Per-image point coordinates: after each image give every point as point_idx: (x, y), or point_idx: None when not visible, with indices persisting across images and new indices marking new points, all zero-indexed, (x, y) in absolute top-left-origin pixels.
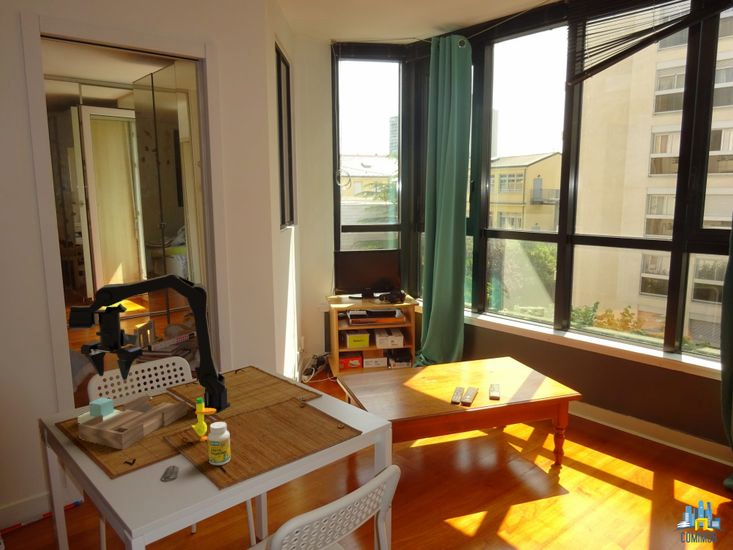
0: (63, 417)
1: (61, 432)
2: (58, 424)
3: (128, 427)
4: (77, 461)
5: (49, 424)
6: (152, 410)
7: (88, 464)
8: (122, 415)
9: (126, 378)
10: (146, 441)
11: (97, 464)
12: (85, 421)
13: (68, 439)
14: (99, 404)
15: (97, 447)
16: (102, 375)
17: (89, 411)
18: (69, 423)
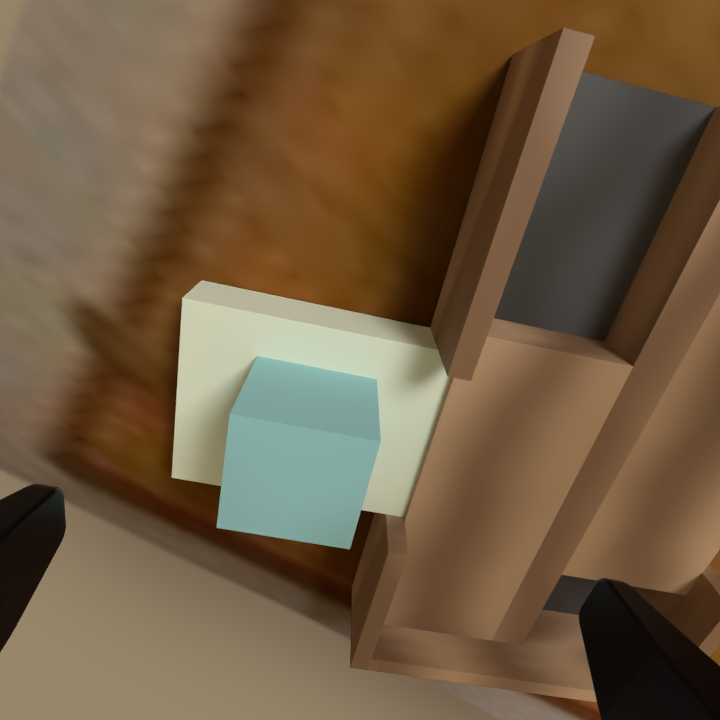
0: (4, 380)
1: (194, 540)
2: (81, 468)
3: (615, 568)
4: (474, 705)
5: (29, 475)
6: (696, 318)
7: (530, 713)
8: (488, 436)
9: (629, 600)
10: None
11: (565, 710)
12: None
13: (295, 589)
14: (332, 543)
15: None
16: (60, 507)
17: (178, 394)
18: (132, 448)
